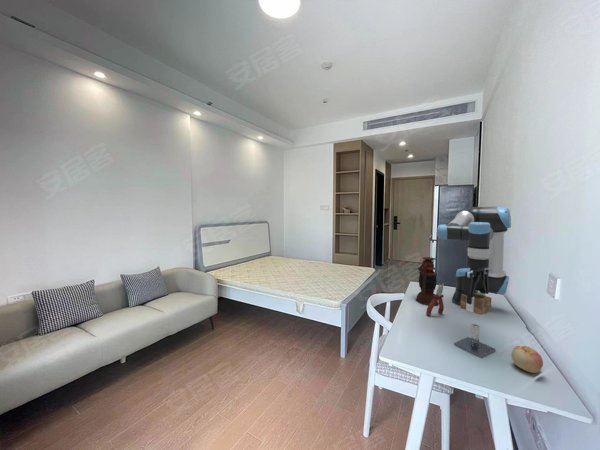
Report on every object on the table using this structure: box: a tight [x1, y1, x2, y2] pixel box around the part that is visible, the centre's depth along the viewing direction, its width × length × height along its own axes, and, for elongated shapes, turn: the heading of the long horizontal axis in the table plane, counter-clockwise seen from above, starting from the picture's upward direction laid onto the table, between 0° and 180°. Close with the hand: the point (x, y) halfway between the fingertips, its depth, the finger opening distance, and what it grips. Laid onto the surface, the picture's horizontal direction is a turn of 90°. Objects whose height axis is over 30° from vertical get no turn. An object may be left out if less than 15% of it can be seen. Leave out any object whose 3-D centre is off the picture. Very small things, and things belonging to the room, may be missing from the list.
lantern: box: [415, 256, 439, 307], centre depth 158 cm, size 17×14×30 cm
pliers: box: [426, 282, 445, 317], centre depth 138 cm, size 12×20×3 cm
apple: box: [510, 345, 544, 374], centre depth 92 cm, size 9×9×8 cm
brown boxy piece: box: [460, 293, 492, 315], centre depth 106 cm, size 8×8×6 cm
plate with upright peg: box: [453, 323, 496, 359], centre depth 106 cm, size 11×11×10 cm
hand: (475, 309), depth 106 cm, fingers closed on brown boxy piece, 8 cm apart
